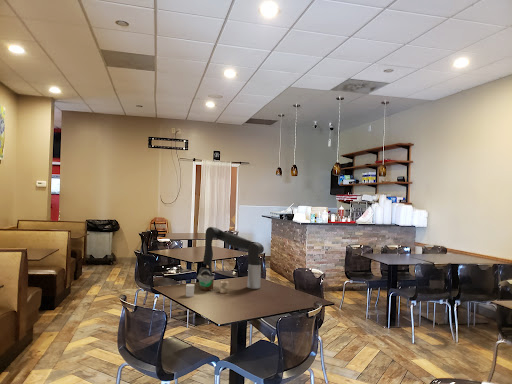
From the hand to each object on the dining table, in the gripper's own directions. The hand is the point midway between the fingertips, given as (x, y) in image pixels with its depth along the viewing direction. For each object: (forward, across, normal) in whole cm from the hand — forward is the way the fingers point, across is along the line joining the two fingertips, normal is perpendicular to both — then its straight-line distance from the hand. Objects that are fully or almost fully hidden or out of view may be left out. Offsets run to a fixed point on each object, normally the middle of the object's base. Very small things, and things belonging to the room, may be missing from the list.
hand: (205, 279), depth 255 cm
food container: (+2, 0, +6) cm, 7 cm away
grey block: (+18, -10, +7) cm, 22 cm away
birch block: (+6, +13, +7) cm, 16 cm away
